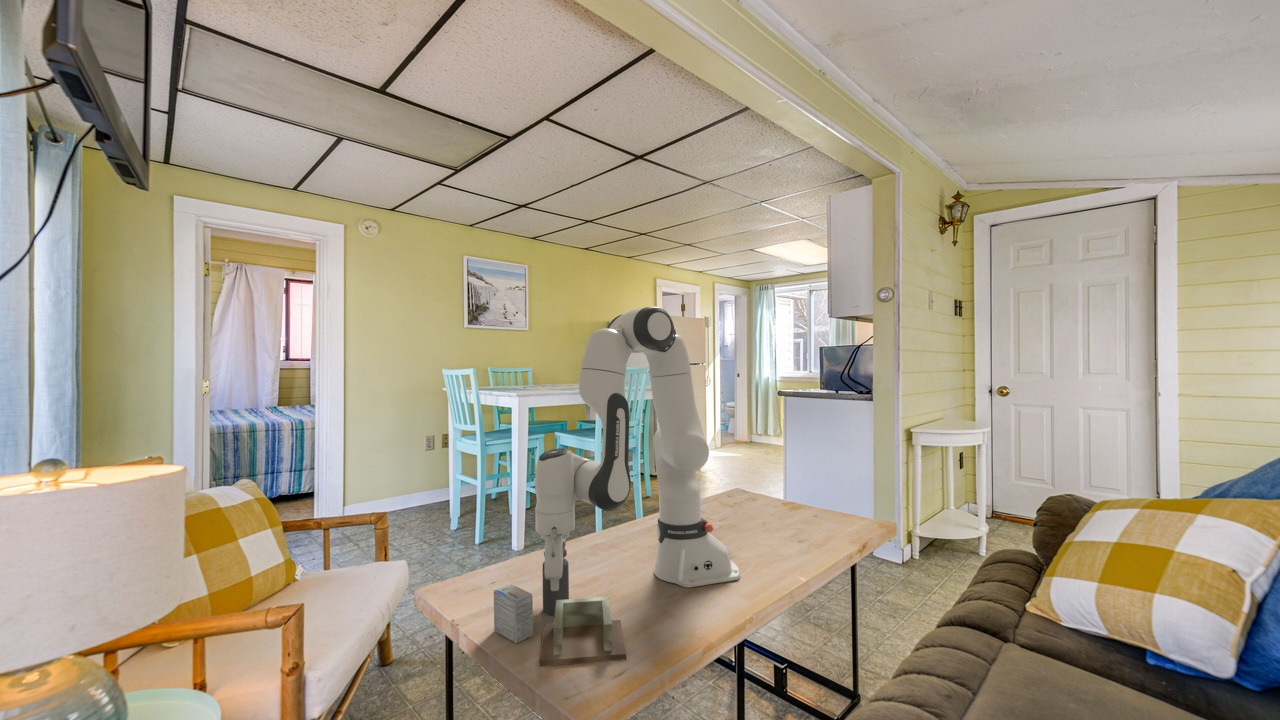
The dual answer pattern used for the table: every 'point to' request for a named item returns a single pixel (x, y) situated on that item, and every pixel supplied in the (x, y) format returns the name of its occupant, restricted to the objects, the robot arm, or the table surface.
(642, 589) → the table surface
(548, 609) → the bottle
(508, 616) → the medicine box
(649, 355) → the robot arm
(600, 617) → the u rest
